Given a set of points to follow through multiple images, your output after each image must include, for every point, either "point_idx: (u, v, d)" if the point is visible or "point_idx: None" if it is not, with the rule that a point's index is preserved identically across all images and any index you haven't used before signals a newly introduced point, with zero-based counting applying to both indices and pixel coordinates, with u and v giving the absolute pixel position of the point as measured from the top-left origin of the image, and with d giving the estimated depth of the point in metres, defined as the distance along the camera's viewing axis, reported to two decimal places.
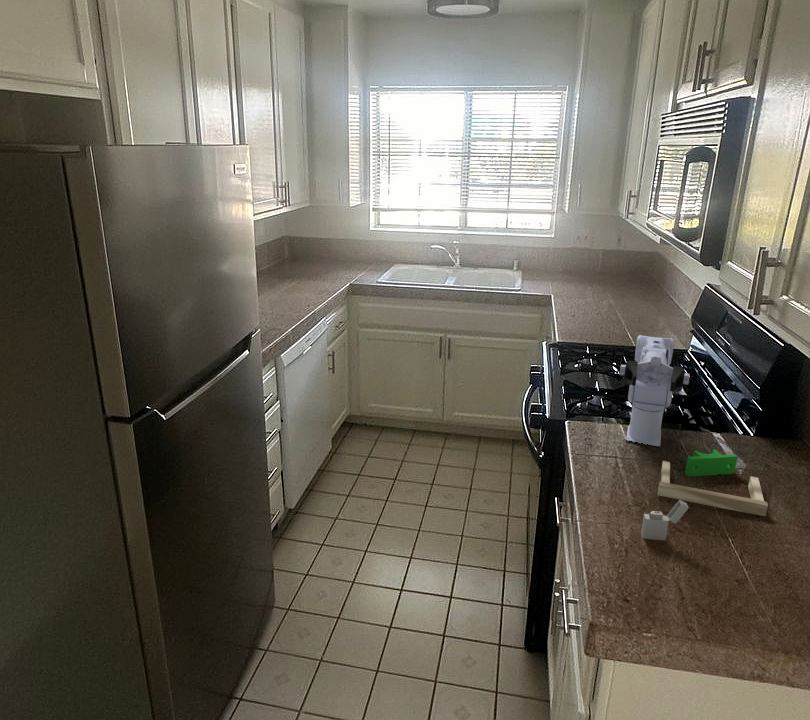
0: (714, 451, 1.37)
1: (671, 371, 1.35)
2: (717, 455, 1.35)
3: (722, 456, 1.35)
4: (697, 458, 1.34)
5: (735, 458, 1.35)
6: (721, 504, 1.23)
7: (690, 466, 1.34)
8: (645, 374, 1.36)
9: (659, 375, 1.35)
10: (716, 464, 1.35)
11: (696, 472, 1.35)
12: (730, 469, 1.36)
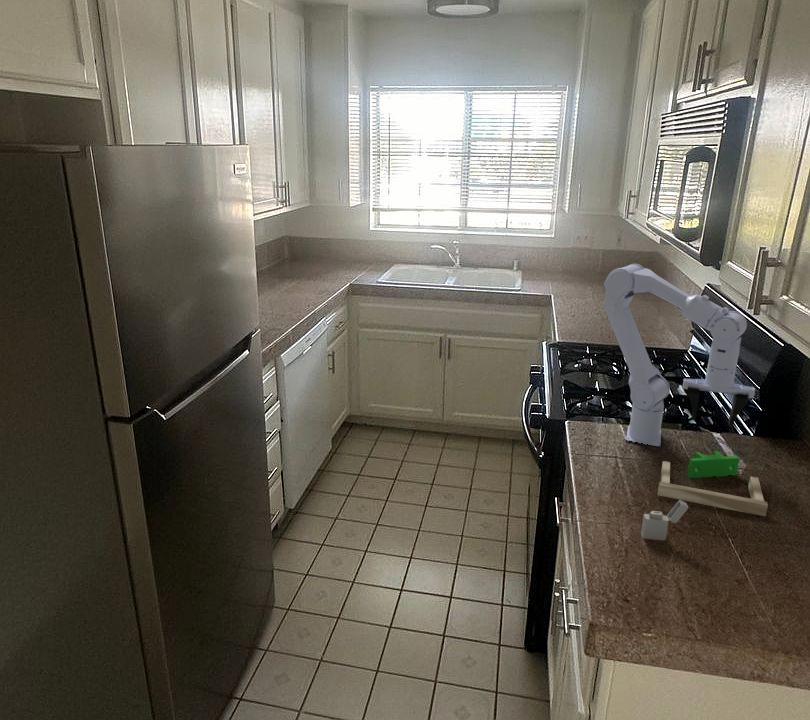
0: (716, 452, 1.37)
1: None
2: (719, 457, 1.35)
3: (724, 458, 1.34)
4: (699, 460, 1.33)
5: (737, 460, 1.34)
6: (721, 504, 1.23)
7: (692, 468, 1.34)
8: None
9: None
10: (718, 465, 1.34)
11: (698, 474, 1.34)
12: (732, 471, 1.35)
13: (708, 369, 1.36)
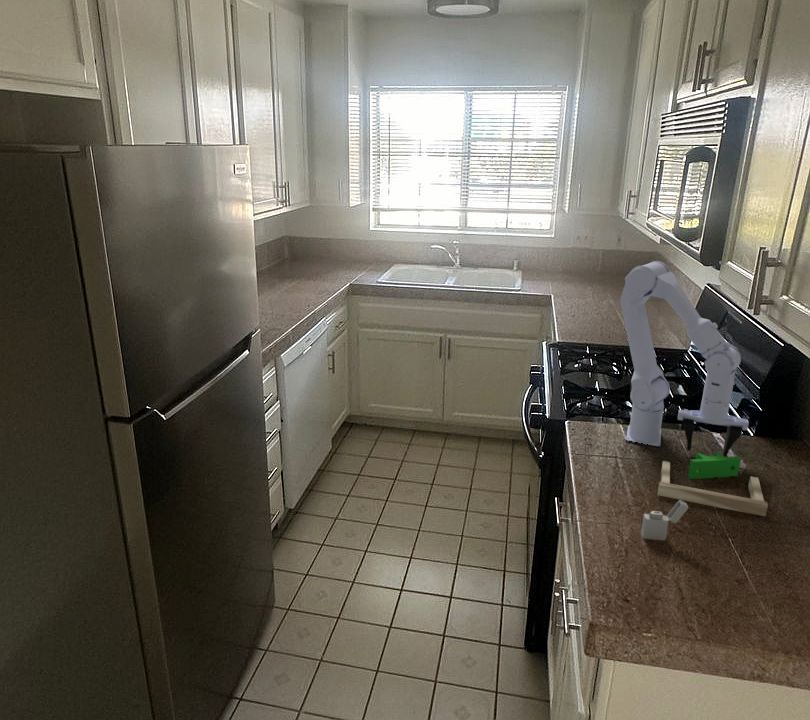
0: (717, 453, 1.36)
1: None
2: (720, 458, 1.34)
3: (725, 459, 1.34)
4: (700, 461, 1.33)
5: (738, 461, 1.34)
6: (721, 504, 1.23)
7: (693, 469, 1.33)
8: None
9: None
10: (719, 466, 1.34)
11: (699, 475, 1.34)
12: (733, 472, 1.35)
13: (703, 401, 1.39)
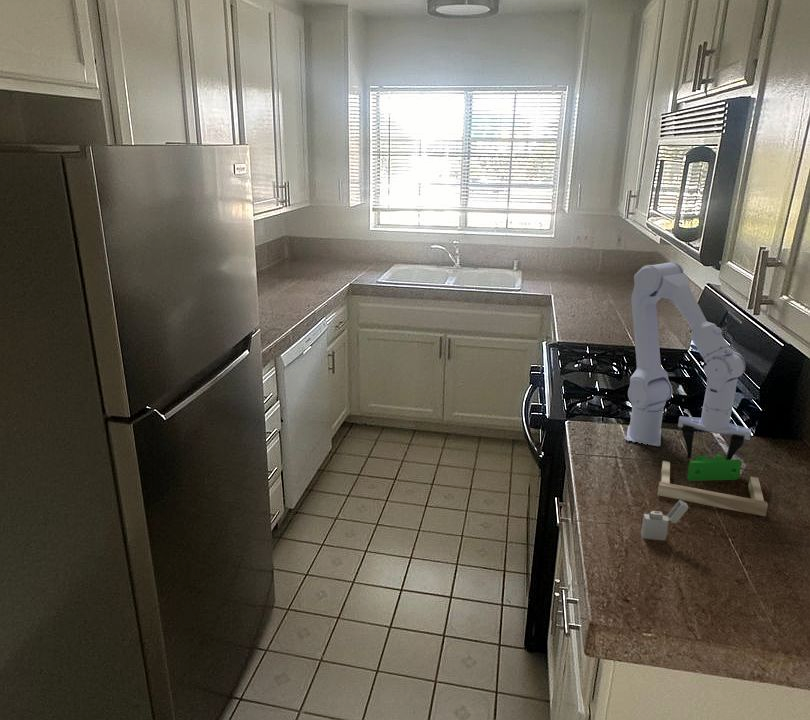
0: (718, 456, 1.35)
1: None
2: (721, 460, 1.33)
3: (726, 461, 1.33)
4: (699, 462, 1.32)
5: (739, 463, 1.32)
6: (721, 504, 1.23)
7: (692, 470, 1.32)
8: None
9: None
10: (719, 468, 1.33)
11: (698, 476, 1.33)
12: (734, 474, 1.33)
13: (703, 408, 1.35)
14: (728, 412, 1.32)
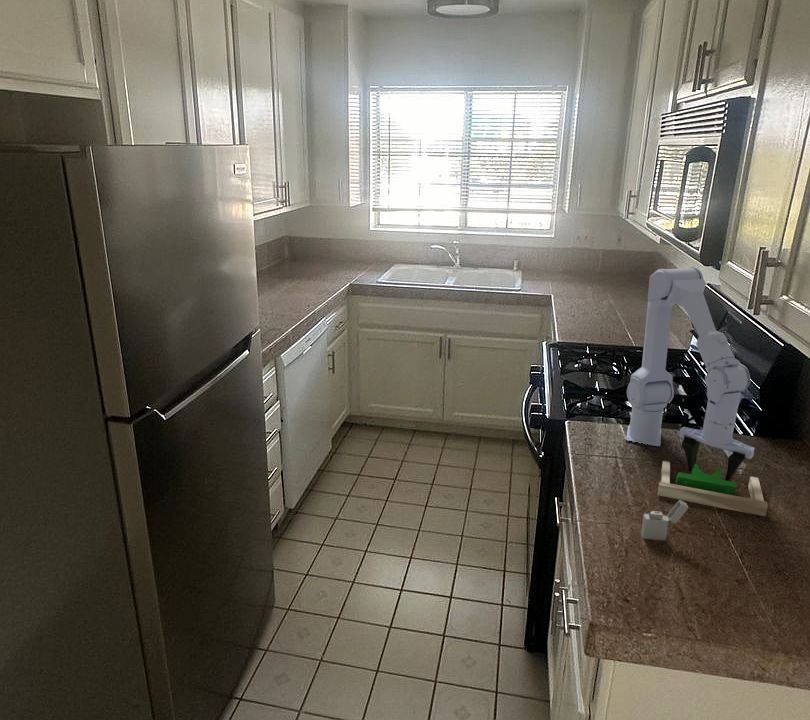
0: (717, 471, 1.27)
1: None
2: (714, 479, 1.26)
3: (719, 482, 1.26)
4: (686, 478, 1.28)
5: (734, 487, 1.25)
6: (721, 504, 1.23)
7: (678, 480, 1.30)
8: None
9: None
10: (709, 485, 1.27)
11: (685, 485, 1.30)
12: (727, 492, 1.27)
13: (704, 420, 1.29)
14: (728, 427, 1.25)
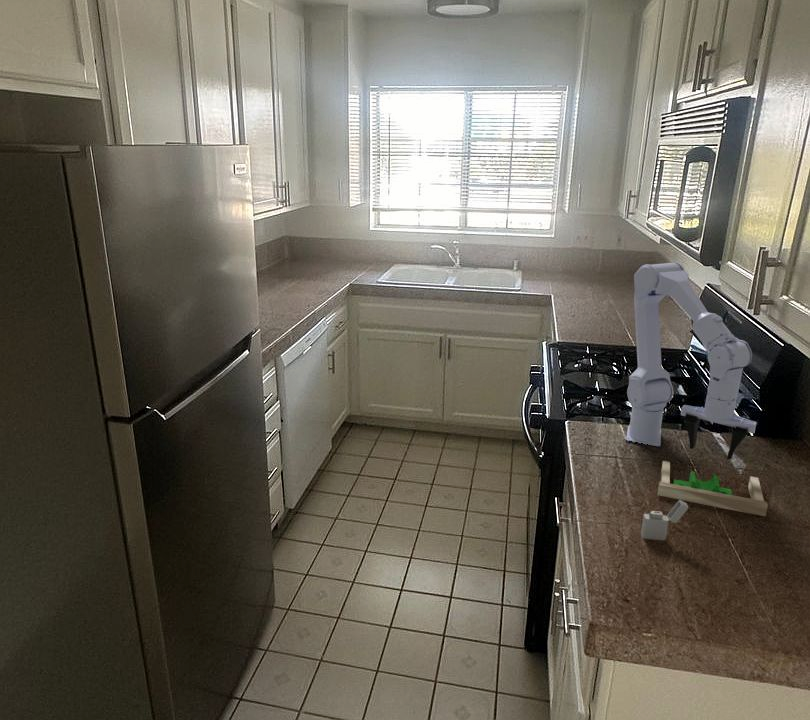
0: (714, 489, 1.25)
1: None
2: None
3: None
4: None
5: None
6: (721, 504, 1.23)
7: None
8: None
9: None
10: None
11: None
12: None
13: (706, 398, 1.31)
14: (731, 402, 1.27)
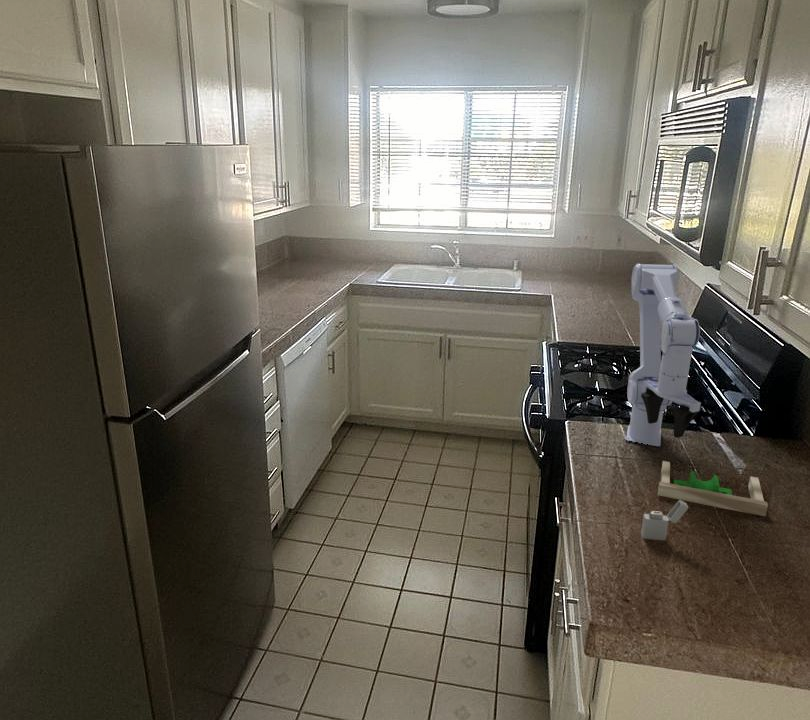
0: (714, 489, 1.25)
1: None
2: None
3: None
4: None
5: None
6: (721, 504, 1.23)
7: None
8: None
9: None
10: None
11: None
12: None
13: None
14: (675, 379, 1.29)
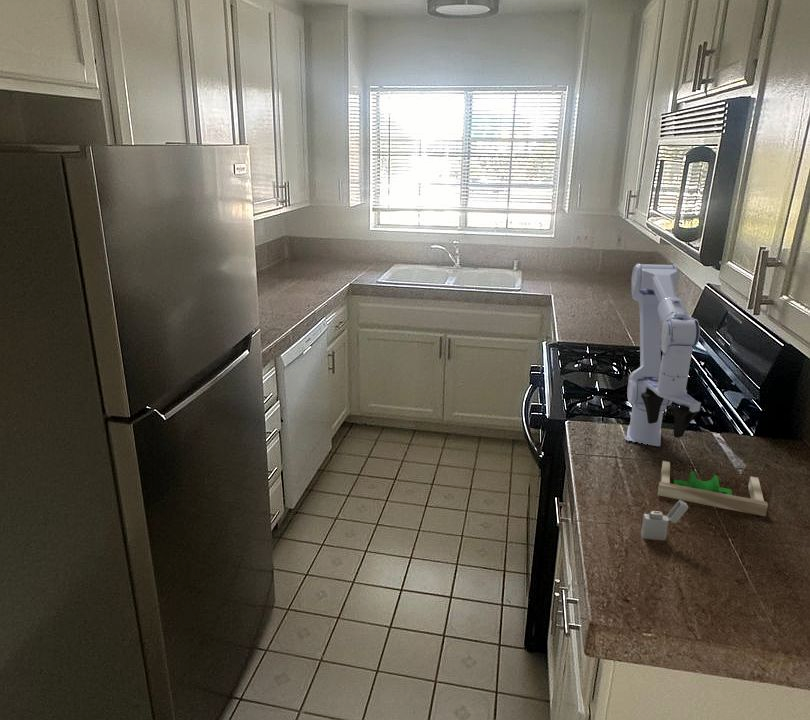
0: (714, 489, 1.25)
1: None
2: None
3: None
4: None
5: None
6: (721, 504, 1.23)
7: None
8: None
9: None
10: None
11: None
12: None
13: None
14: (675, 379, 1.29)
